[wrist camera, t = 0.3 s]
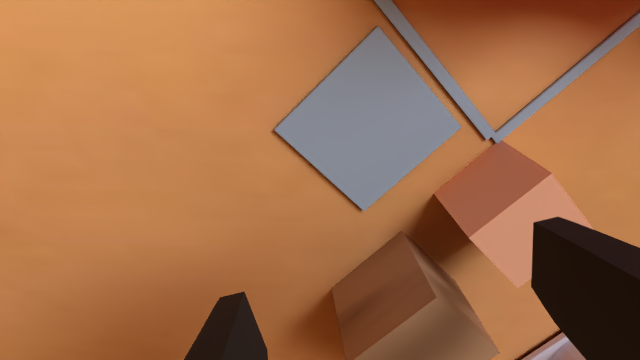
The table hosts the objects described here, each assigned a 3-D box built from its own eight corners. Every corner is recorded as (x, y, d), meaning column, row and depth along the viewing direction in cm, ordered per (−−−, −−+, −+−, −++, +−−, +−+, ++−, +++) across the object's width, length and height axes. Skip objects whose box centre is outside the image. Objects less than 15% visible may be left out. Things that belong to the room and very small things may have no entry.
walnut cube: (454, 280, 22) (500, 352, 18) (388, 330, 24) (415, 410, 19) (400, 230, 21) (436, 297, 16) (331, 287, 22) (346, 364, 17)
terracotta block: (538, 189, 20) (596, 232, 17) (476, 238, 21) (517, 288, 18) (498, 138, 19) (552, 173, 15) (433, 193, 20) (468, 237, 16)
